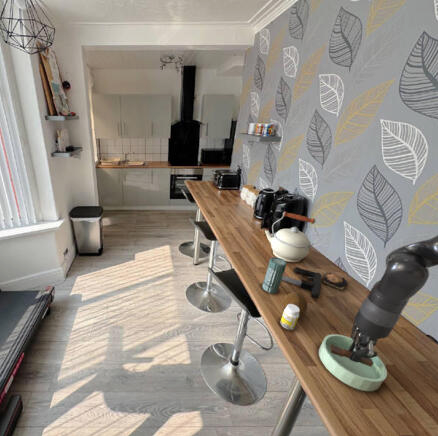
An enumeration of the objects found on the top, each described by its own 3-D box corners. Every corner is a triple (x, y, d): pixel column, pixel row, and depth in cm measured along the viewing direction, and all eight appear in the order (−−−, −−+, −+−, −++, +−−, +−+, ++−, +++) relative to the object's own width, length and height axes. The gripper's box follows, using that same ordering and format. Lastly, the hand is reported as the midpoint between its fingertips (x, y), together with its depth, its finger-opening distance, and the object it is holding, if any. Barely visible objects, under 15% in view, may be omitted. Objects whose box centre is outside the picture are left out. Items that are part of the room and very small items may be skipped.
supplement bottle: (290, 320, 90) (296, 303, 87) (297, 330, 86) (304, 313, 82) (277, 319, 90) (283, 302, 87) (283, 329, 86) (290, 312, 82)
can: (280, 291, 105) (289, 263, 99) (271, 295, 103) (280, 266, 96) (268, 282, 110) (276, 255, 104) (259, 286, 107) (267, 258, 101)
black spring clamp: (280, 281, 107) (323, 296, 98) (287, 262, 122) (325, 273, 113) (278, 287, 108) (321, 302, 99) (285, 268, 123) (323, 279, 114)
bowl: (371, 357, 77) (377, 347, 75) (388, 402, 65) (395, 392, 63) (316, 336, 84) (320, 327, 82) (321, 373, 71) (326, 364, 69)
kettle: (311, 256, 133) (326, 216, 123) (305, 270, 120) (321, 226, 110) (265, 241, 148) (275, 204, 138) (255, 252, 135) (266, 212, 125)
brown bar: (369, 361, 72) (371, 357, 71) (371, 368, 70) (374, 365, 69) (329, 346, 76) (331, 342, 75) (331, 352, 74) (332, 349, 73)
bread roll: (343, 291, 106) (346, 285, 105) (321, 282, 112) (324, 276, 110) (347, 281, 113) (350, 275, 112) (326, 273, 119) (329, 267, 117)
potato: (282, 318, 91) (288, 303, 88) (280, 298, 101) (285, 283, 98) (306, 326, 88) (313, 310, 85) (302, 304, 98) (308, 289, 95)
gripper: (405, 340, 58) (374, 383, 65) (386, 305, 69) (361, 345, 76) (366, 327, 61) (341, 370, 68) (354, 295, 73) (333, 335, 80)
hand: (352, 357), depth 72 cm, fingers closed on brown bar, 1 cm apart
